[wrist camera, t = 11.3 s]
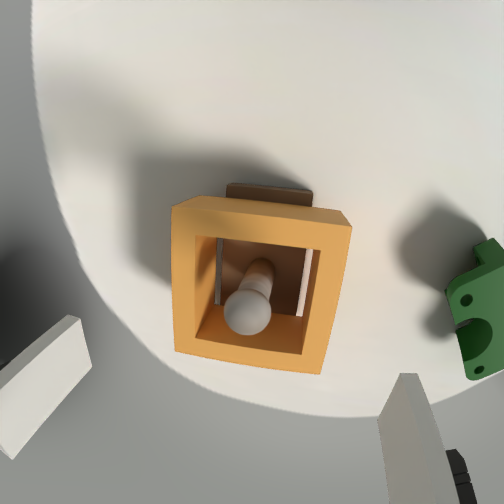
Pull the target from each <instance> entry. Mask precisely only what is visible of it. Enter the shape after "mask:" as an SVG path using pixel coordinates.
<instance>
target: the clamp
mask: <svg viewBox="0 0 504 504" xmlns="http://www.w3.org/2000/svg"><path fill="white" fill-rule="evenodd" d="M473 251H474V255H475V258H476V262H477V266H478V267H477V268H475V269H472V270H470V271H468V272H466V273H464V274H462V275H459V276H457V277H456V278H454V279H453V280H452V281H451V283H450V284H449V286H448V289H446V290H445V294H446V297H447V300H448V303H449V306H450V309H451V312H452V315H453V319H454V322H455V325H457V324H458V323H460V322H462V321H464V320H467V319H470V318H475V319H474V320H473V321H472V322H471V323H470V324H468V325H467V326H465V327H463V328H461V329H458V330H456V335H457V338H458V342H459V346H460V350H461V354H462V359H463V364H464V369H465V373H466V377H467V378H468V379H469V380H479V379H482V378H484V377H486V376H489V375H491V374H493V373H496V372H498V371H500V370H503V369H504V249H503V248H502V247H501V246H500V244H499V243H498V242H497V241H496V240H495V239H494V238H491V239H489V240H487V241H485V242H483V243H481V244H479V245H477V246H475V247H473Z"/></svg>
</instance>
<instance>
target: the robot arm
mask: <svg viewBox="0 0 504 504" xmlns="http://www.w3.org/2000/svg"><path fill="white" fill-rule="evenodd" d="M91 367H92V365H91V361H90V357H89V353H88V350H87V346H86V342H85V338H84V333H83V329H82V325H81V320H80V318H76V317H74V316H71V315H67V316H66V317H64V318H63V319H62V320H61V321H59V322H58V323H57V324H56V325H54V326H53V327H52V328H51V329H50V330H48V331H47V332H46V333H44V334H43V335H42V336H41V337H40V338H38V339H37V340H36V341H35V342H34V343H32V344H31V345H30V346H29V347H27V348H26V349H25V350H24V351H23V352H22V353H20V354H19V355H18V356H17V357H16V358H15V359H13V360H12V361H8V362H6V363H4V364H2V365H0V450H1V451H2V452H4V453H5V454H6V455H7V456H8V457H10V458H11V459H13V458H14V457H15V456H16V455H17V454H18V452H19V451H20V450H21V449H22V447H23V446H24V445H25V444H26V443H27V441H28V440H29V439H30V438H31V437H32V435H33V434H34V433H35V432H36V430H37V429H38V428H39V427H40V426H41V425H42V423H43V422H44V421H45V420H46V419H47V417H48V416H49V415H50V414H51V413H52V412H53V411H54V409H55V408H56V407H57V406H58V405H59V404H60V403H61V401H62V400H63V399H64V398H65V397H66V396H67V394H68V393H69V392H70V391H71V390H72V389H73V388H74V387H75V385H76V384H77V383H78V382H79V381H80V380H81V379H82V377H83V376H84V375H85V374H86V373H87V372H88V371H89V370H90V369H91ZM377 421H378V427H379V433H380V439H381V445H382V451H383V457H384V463H385V471H386V479H387V486H388V495H389V504H477V500H476V497H475V493H474V490H473V486H472V483H470V481H471V479H470V476H469V473H467V472H468V470H467V467H466V463H465V460H464V458H463V457H462V456H461V455H460V454H459V452H458V451H457V450H456V449H452V450H446V451H445V448H444V445H443V442H442V439H441V436H440V433H439V430H438V427H437V424H436V422H435V419H434V416H433V413H432V410H431V408H430V405H429V402H428V400H427V397H426V394H425V392H424V389H423V387H422V384H421V382H420V379H419V377H418V374H417V373H400V375H399V377H398V379H397V381H396V383H395V385H394V388H393V390H392V392H391V394H390V396H389V398H388V400H387V402H386V404H385V406H384V408H383V410H382V412H381V414H380V416H379V418H378V420H377Z"/></svg>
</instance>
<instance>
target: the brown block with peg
mask: <svg viewBox="0 0 504 504" xmlns="http://www.w3.org/2000/svg"><path fill="white" fill-rule="evenodd" d="M226 198H236V199H246V200H256V201H266V202H275V203H283V204H292V205H300V206H308V207H312V199H313V193H312V191H308V190H299V189H291V188H282V187H273V186H263V185H253V184H242V183H231V184H228V185H227V189H226ZM305 254H306V248H299V247H291V246H283V245H275V244H267V243H259V242H251V241H243V240H234V239H226V238H223V257H222V278H221V301H220V305H222V306H224V318H225V321H226V323H227V324H228V326H229V327H230V328H231V329H232V330H233V331H235V332H236V333H238V334H241V335H254V334H257V333H259V332H261V331H262V330H263V329H264V328H265V327H266V326H267V324H268V323H269V321H270V318H271V313H277V314H285V315H292V316H296V312H297V306H298V300H299V294H300V287H301V281H302V274H303V268H304V261H305Z"/></svg>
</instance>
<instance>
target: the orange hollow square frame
mask: <svg viewBox="0 0 504 504" xmlns="http://www.w3.org/2000/svg"><path fill="white" fill-rule="evenodd" d="M351 231H352V226H351V225H350V223H349V222H348V220H347V219H346V218H345V216H344V215H343V214H342V212H341V211H338V210H331V209H324V208H316V207H308V206H300V205H292V204H283V203H275V202H266V201H256V200H246V199H236V198H225V197H214V196H202V195H199V196H196V197H194V198H191V199H189V200H186V201H184V202H181V203H179V204H177V205H174V206H172V211H171V277H172V309H173V329H174V345H175V351H176V352H180V353H185V354H190V355H194V356H199V357H204V358H209V359H214V360H220V361H225V362H231V363H236V364H242V365H248V366H255V367H261V368H268V369H276V370H283V371H291V372H300V373H309V374H319V375H320V372H321V369H322V365H323V361H324V357H325V354H326V350H327V346H328V342H329V338H330V334H331V330H332V326H333V322H334V317H335V313H336V309H337V304H338V300H339V295H340V290H341V285H342V281H343V276H344V270H345V265H346V260H347V255H348V249H349V243H350V237H351ZM217 237H218V238H226V239H234V240H243V241H251V242H259V243H267V244H275V245H283V246H291V247H299V248H307V249H313V256H312V262H311V269H310V275H309V281H308V287H307V293H306V299H305V305H304V310H303V316H302V317H300V316H292V315H285V314H277V313H271V318H270V321H269V323H268V324H267V326H266V327H265V328H264V329H263V330H262V331H261V332H259V333H257V334H254V335H241V334H238V333H236V332H235V331H233V330H232V329H231V328H230V327H229V326H228V324H227V323H226V321H225V318H224V306H222V305H216V304H214V302H215V274H216V250H217Z"/></svg>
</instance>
